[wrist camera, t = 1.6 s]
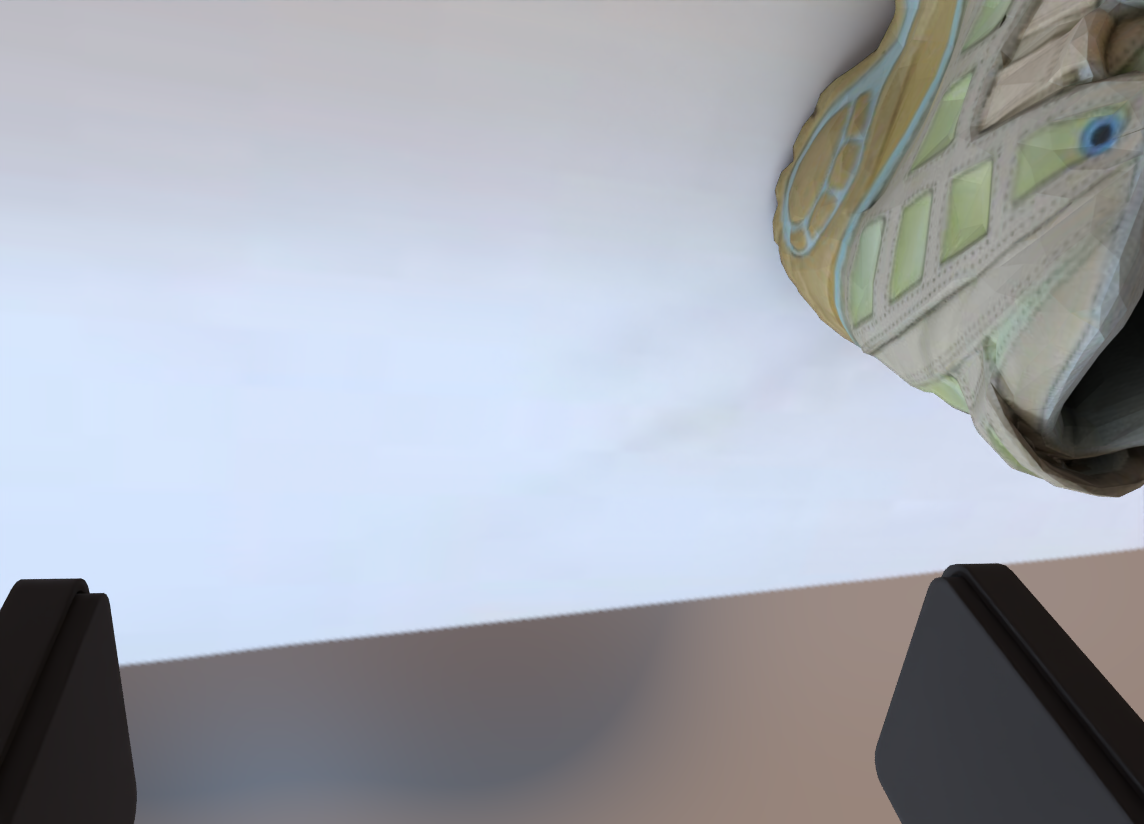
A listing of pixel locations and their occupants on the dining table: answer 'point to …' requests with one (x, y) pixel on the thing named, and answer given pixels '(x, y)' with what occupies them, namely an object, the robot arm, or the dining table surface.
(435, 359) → the dining table surface
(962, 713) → the robot arm
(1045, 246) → the sneaker
